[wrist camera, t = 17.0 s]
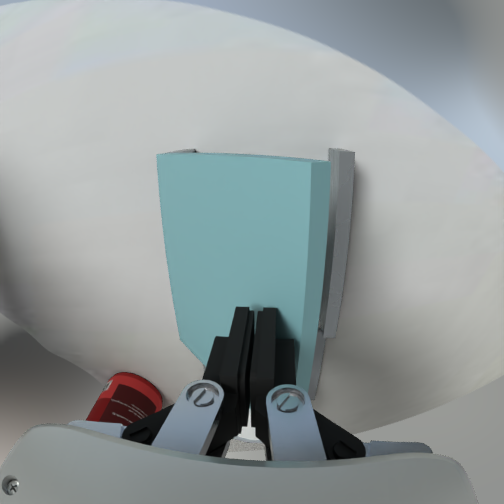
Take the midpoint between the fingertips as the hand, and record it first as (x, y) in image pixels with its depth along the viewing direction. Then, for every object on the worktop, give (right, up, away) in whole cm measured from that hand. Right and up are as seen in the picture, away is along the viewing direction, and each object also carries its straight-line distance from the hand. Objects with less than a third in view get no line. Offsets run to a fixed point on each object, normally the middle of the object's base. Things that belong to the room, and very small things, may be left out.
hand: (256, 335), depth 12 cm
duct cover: (-1, +2, +4) cm, 4 cm away
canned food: (-15, -14, +21) cm, 29 cm away
